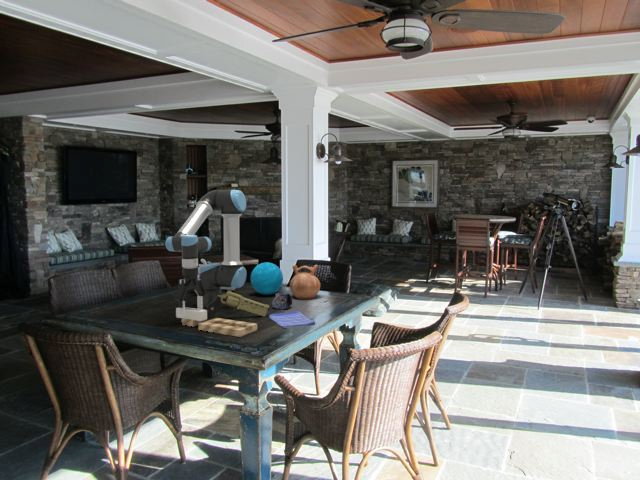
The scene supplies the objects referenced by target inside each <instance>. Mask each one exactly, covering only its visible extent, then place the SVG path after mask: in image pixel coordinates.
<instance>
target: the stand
mask: <svg viewBox="0 0 640 480" xmlns="http://www.w3.org/2000/svg"><path fill="white" fill-rule="evenodd" d="M185 325H187V327H191V326H192V327H196V326H198V325H197V320H190V319H182V324H181V326H185Z"/></svg>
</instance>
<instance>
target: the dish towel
mask: <svg viewBox="0 0 640 480" xmlns="http://www.w3.org/2000/svg"><path fill="white" fill-rule="evenodd" d="M268 318H269V319H270V320H271V321H273V322H274V323H275V324H277V325H278V326H279V327H280V328H283V329H291V328H301V327H308V326H309V327H310V326H315V325H316V321H314V320H311V319H310V318H309V317H307V316H306V315H304V314H303V313H301V312H300V311H299V310H295V311H292V312H281V313H280V312H279V313H272V314H271V313H270V314H269V315H268Z"/></svg>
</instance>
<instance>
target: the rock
mask: <svg viewBox="0 0 640 480" xmlns="http://www.w3.org/2000/svg"><path fill="white" fill-rule="evenodd" d="M274 294H275V297H274V299H273V300H272V307H273V308H274V309H278V310H286V309H287V310H288V309H289V308H290V307H291V306H292V305H293V297H292V295H291V294H290V293H285V292H284V293H282V292H275V293H274Z"/></svg>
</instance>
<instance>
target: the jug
mask: <svg viewBox="0 0 640 480" xmlns="http://www.w3.org/2000/svg"><path fill="white" fill-rule="evenodd" d="M317 267H318V265H317V264H315V265H313V266H308V265H302V266H299V267H298V266H297V264H295V265H293V266H292V270H293V271H294V272H293V273H294V275H293V277H292V279H291V280H290V282H289V290H290V291H291V293H292V295H293V296H294V298H296V299H298V300H311V299H314V298H316V297H317V295H318V293H319V292H320V289H321V282H320V280H319V278H318V277H317V276H316V275H315V272H316V271H317ZM303 269H306V270H307V271H301V270H303Z"/></svg>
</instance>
